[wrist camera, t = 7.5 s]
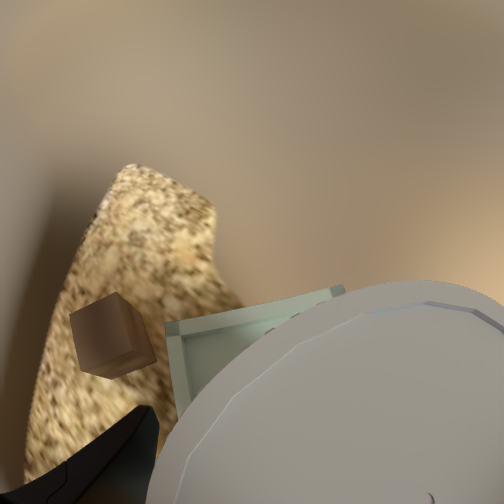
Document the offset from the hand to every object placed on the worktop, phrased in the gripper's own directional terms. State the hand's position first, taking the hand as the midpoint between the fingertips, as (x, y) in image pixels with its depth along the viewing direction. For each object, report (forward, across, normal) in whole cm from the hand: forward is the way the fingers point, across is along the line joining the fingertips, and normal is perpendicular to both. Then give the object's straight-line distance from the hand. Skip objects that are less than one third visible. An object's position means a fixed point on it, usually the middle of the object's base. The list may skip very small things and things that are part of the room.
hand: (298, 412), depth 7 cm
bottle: (+6, -1, +8) cm, 9 cm away
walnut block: (+12, +12, +5) cm, 18 cm away
